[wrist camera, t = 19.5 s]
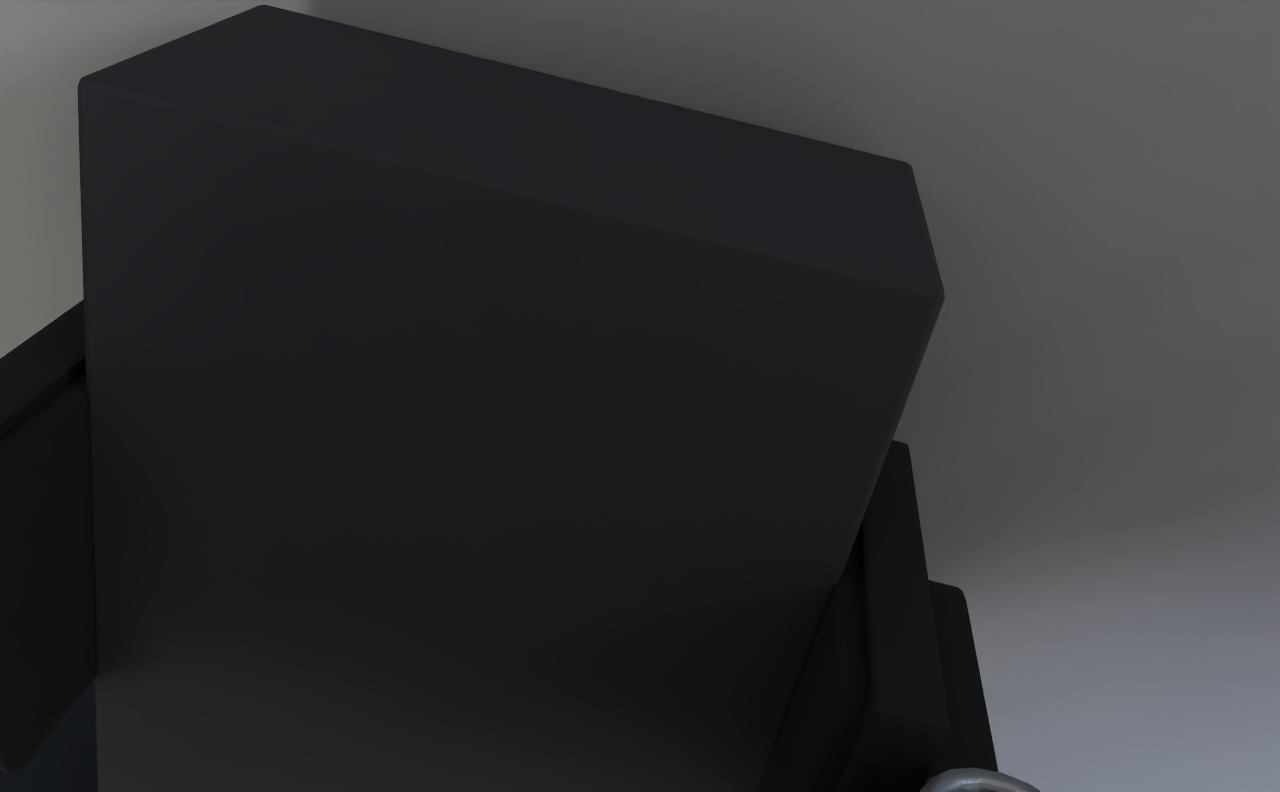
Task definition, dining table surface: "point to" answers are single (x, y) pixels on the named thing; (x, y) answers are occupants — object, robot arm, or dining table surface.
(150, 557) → the pad
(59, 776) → the pad
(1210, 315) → the dining table surface
